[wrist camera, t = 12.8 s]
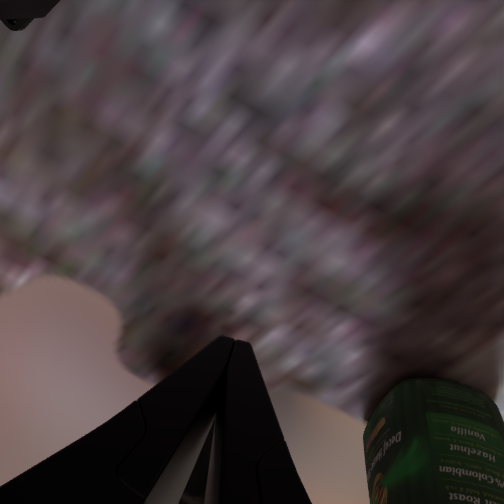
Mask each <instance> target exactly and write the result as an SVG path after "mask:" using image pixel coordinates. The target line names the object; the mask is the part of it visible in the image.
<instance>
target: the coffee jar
mask: <svg viewBox="0 0 504 504" xmlns="http://www.w3.org/2000/svg"><path fill="white" fill-rule="evenodd" d="M363 443H364V454H365V465H366V473H367V483H368V490H369V497H370V504H504V422H503V419H502V416H501V414H500V411H499V409H498V407H497V405H496V404H495V403H494V401H493V400H491V399H490V398H489V397H488V396H486V395H485V394H483V393H481V392H479V391H477V390H475V389H473V388H471V387H469V386H466V385H463V384H460V383H458V382H454V381H449V380H445V379H440V378H416V379H407V380H404V381H402V382H400V383H398V384H397V385H396V386H394V387H393V388H392V389H391V390H390V391H389V392H388V394H387V395H386V396H385V397H384V398H383V399H382V401H381V402H380V403H379V405H378V406H377V407H376V409H375V410H374V412H373V414H372V415H371V417H370V419H369V421H368V423H367V426H366V428H365V431H364V435H363Z"/></svg>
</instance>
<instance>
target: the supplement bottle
mask: <svg viewBox="0 0 504 504" xmlns="http://www.w3.org/2000/svg"><path fill="white" fill-rule="evenodd" d="M217 410H218V409H217ZM216 414H217V412H216ZM215 419H216V415H215V418H214V421H213V423H212V426H211V428H210V430H209V433H208V435H207V437H206V440H205V442H204V444H203V447H202V449H201V451H200V454H199V456H198V458H197V461H196V463H195V466H194V468H193V470H192V473H191V475H190V477H189V480H188V482H187V484H186V487H185V489H184V491H183V494H182V496H181V498H180V501H179V503H178V504H204V501H205V494H206V486H207V479H208V471H209V463H210V456H211V448H212V441H213V433H214V425H215Z"/></svg>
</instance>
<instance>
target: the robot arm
mask: <svg viewBox="0 0 504 504" xmlns="http://www.w3.org/2000/svg"><path fill="white" fill-rule="evenodd" d="M59 1H60V0H0V20H1V21H2V22H3V23H4V24H5V26H6V27H8V28H9V29H10V30H13V31H19V30H23V29H25V28H26V27H27V26H28V25H29V23H30V22H31V21H32V20H33V19H34V18H43V17H45V16H46V15H47V14H48V13H49V12H50V11H51V9H52V8H53V7H54V6H55V5H56V4H57V3H58V2H59ZM13 19H16V20H17V22H16V23H14V21H13ZM217 409H218V410H217ZM216 412H217V414H216ZM215 415H216V419H215V425H214V433H213V441H212V448H211V456H210V463H209V471H208V479H207V486H206V494H205V501H204V504H312V503H311V501H310V499H309V497H308V494H307V492H306V490H305V488H304V486H303V484H302V482H301V479H300V477H299V475H298V473H297V470H296V468H295V465H294V463H293V460H292V458H291V455H290V452H289V449H288V447H287V444H286V441H284V436H283V433H282V431H281V428H280V425H279V422H278V419H277V417H276V414H275V411H274V408H273V405H272V402H271V399H270V397H269V394H268V391H267V388H266V385H265V382H264V380H263V377H262V374H261V371H260V368H259V365H258V363H257V360H256V357H255V354H254V351H253V348H252V346H251V344H250V343H249V342H246V341H242V340H236V341H235V340H234V339H233V338H230V337H226V336H223V335H221V336H219V337H218V338H216V339H215V340H214V341H212V342H211V343H210V344H208V345H207V346H206V347H205V348H203V349H202V350H201V351H199V352H198V353H197V354H195V355H194V356H193V357H192V358H190V359H189V360H188V361H186V362H185V363H184V364H182V365H181V366H180V367H179V368H177V369H176V370H175V371H173V372H172V373H171V374H169V375H168V376H167V377H166V378H164V379H163V380H162V381H160V382H159V383H158V384H156V385H155V386H154V387H153V388H151V389H150V390H149V391H147V392H146V393H145V394H143V395H142V396H141V397H140V398H138V399H137V401H134V402H132V403H131V404H130V405H129V406H127V407H126V408H125V409H123V410H122V411H121V412H119V413H118V414H116V415H115V416H114V417H112V418H111V419H109V420H108V421H107V422H105V423H104V424H102V425H100V426H99V427H97V428H96V429H94V430H93V431H91V432H90V433H88V434H86V435H85V436H83V437H81V438H80V439H78V440H77V441H75V442H73V443H71V444H70V445H69V446H66V447H65V448H63V449H61V450H60V451H58V452H56V453H55V454H53V455H51V456H50V457H49V458H47V459H45V460H43V461H41V462H40V463H38V464H37V465H35V466H33V467H32V468H30V469H28V470H27V471H25V472H23V473H22V474H20V475H18V476H17V477H15V478H13V479H12V480H10V481H9V482H7V483H5V484H3V485H2V486H0V504H178V503H179V501H180V498H181V496H182V494H183V491H184V489H185V487H186V484H187V482H188V480H189V477H190V475H191V473H192V470H193V468H194V466H195V463H196V461H197V458H198V456H199V454H200V451H201V449H202V447H203V444H204V442H205V440H206V437H207V435H208V433H209V430H210V428H211V426H212V423H213V421H214V418H215Z"/></svg>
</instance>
